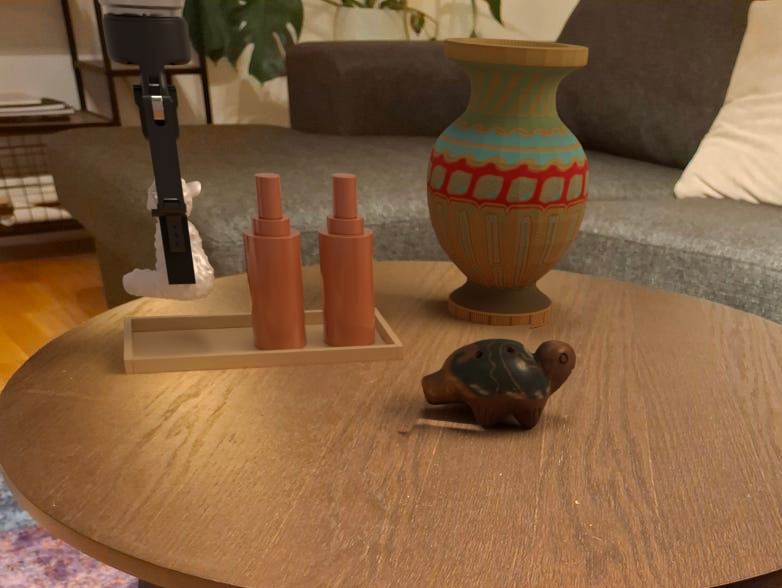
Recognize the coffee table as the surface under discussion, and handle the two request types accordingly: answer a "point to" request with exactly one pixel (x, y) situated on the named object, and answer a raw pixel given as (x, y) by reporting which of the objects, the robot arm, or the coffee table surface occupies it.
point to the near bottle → (274, 271)
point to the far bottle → (346, 270)
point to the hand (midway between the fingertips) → (180, 273)
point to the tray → (236, 344)
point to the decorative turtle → (501, 379)
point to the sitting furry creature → (157, 281)
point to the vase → (508, 179)
